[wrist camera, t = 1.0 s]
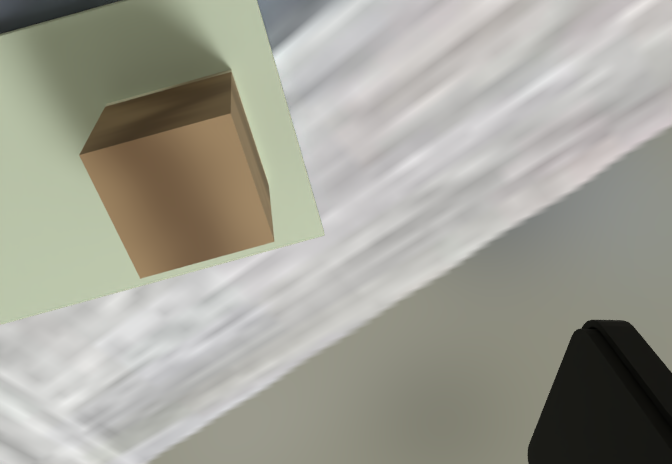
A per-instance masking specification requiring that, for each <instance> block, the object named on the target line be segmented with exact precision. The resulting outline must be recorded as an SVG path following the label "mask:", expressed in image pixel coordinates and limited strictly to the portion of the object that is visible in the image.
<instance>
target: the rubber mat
mask: <svg viewBox="0 0 672 464" xmlns="http://www.w3.org/2000/svg"><path fill="white" fill-rule="evenodd" d="M231 69H232V72H233V75H234V78H235V81H236V84H237V87H238V90H239V93H240V96H241V99H242V103H243V106H244V109H245V112H246V115H247V118H248V121H249V124H250V127H251V130H252V133H253V136H254V139H255V142H256V145H257V148H258V151H259V154H260V157H261V160H262V163H263V166H264V169H265V173H266V176H267V179H268V182H269V192H270V202H271V212H272V222H273V232H274V242H272V243H268V244H265V245H261V246H257V247H254V248H250V249H246V250H243V251H239V252H236V253H232V254H228V255H225V256H221V257H217V258H214V259H210V260H206V261H203V262H199V263H196V264H192V265H188V266H185V267H181V268H177V269H174V270H170V271H167V272H163V273H159V274H156V275H152V276H148V277H145V278H141V279H140V277H139V275H138V273H137V271H136V269H135V267H134V265H133V263H132V261H131V259H130V257H129V255H128V253H127V251H126V249H125V247H124V245H123V243H122V241H121V239H120V237H119V235H118V233H117V231H116V229H115V227H114V225H113V223H112V221H111V219H110V217H109V215H108V213H107V211H106V209H105V207H104V205H103V203H102V201H101V199H100V197H99V194H98V192H97V190H96V188H95V186H94V184H93V182H92V180H91V178H90V176H89V174H88V172H87V170H86V168H85V166H84V164H83V162H82V160H81V158H80V156H79V154H80V152H81V151H82V149H83V147H84V145H85V143H86V141H87V139H88V138H89V136H90V134H91V132H92V130H93V128H94V126H95V124H96V123H97V121H98V119H99V117H100V115H101V113H102V111H103V110H104V108H105V106H106V104H108V103H111V102H115V101H118V100H122V99H126V98H129V97H133V96H137V95H140V94H144V93H147V92H151V91H155V90H158V89H162V88H165V87H169V86H173V85H176V84H180V83H184V82H187V81H191V80H194V79H198V78H202V77H205V76H209V75H212V74H216V73H220V72H223V71H227V70H231ZM324 235H325V234H324V230H323V227H322V223H321V220H320V216H319V213H318V209H317V206H316V202H315V199H314V195H313V192H312V189H311V185H310V182H309V178H308V175H307V171H306V168H305V164H304V161H303V157H302V154H301V151H300V147H299V144H298V140H297V137H296V133H295V130H294V126H293V123H292V120H291V116H290V113H289V109H288V106H287V102H286V99H285V95H284V92H283V88H282V85H281V82H280V78H279V75H278V71H277V68H276V64H275V61H274V57H273V54H272V50H271V47H270V44H269V40H268V37H267V33H266V30H265V26H264V23H263V19H262V16H261V12H260V9H259V6H258V2H257V0H121V1H118V2H114V3H110V4H107V5H103V6H100V7H96V8H92V9H89V10H85V11H82V12H78V13H74V14H71V15H67V16H64V17H60V18H56V19H53V20H49V21H46V22H42V23H38V24H35V25H31V26H27V27H24V28H20V29H17V30H13V31H9V32H6V33H2V34H0V325H1V324H5V323H8V322H12V321H16V320H19V319H23V318H27V317H30V316H34V315H38V314H41V313H45V312H48V311H52V310H56V309H59V308H63V307H67V306H70V305H74V304H77V303H81V302H85V301H88V300H92V299H96V298H99V297H103V296H106V295H110V294H114V293H117V292H121V291H125V290H128V289H132V288H136V287H139V286H143V285H146V284H150V283H154V282H157V281H161V280H165V279H168V278H172V277H175V276H179V275H183V274H186V273H190V272H194V271H197V270H201V269H205V268H208V267H212V266H215V265H219V264H223V263H226V262H230V261H234V260H237V259H241V258H244V257H248V256H252V255H255V254H259V253H263V252H266V251H270V250H274V249H277V248H281V247H284V246H288V245H292V244H295V243H299V242H303V241H306V240H310V239H313V238H317V237H321V236H324Z"/></svg>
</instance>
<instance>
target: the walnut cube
mask: <svg viewBox="0 0 672 464" xmlns="http://www.w3.org/2000/svg"><path fill="white" fill-rule="evenodd" d="M79 156H80V158H81V160H82V162H83V164H84V166H85V168H86V170H87V172H88V174H89V176H90V178H91V180H92V182H93V184H94V186H95V188H96V190H97V192H98V194H99V197H100V199H101V201H102V203H103V205H104V207H105V209H106V211H107V213H108V215H109V217H110V219H111V221H112V223H113V225H114V227H115V229H116V231H117V233H118V235H119V237H120V239H121V241H122V243H123V245H124V247H125V249H126V251H127V253H128V255H129V257H130V259H131V261H132V263H133V265H134V267H135V269H136V271H137V273H138V275H139V277H140V279H141V278H145V277H148V276H152V275H156V274H159V273H163V272H167V271H170V270H174V269H177V268H181V267H185V266H188V265H192V264H196V263H199V262H203V261H206V260H210V259H214V258H217V257H221V256H225V255H228V254H232V253H236V252H239V251H243V250H246V249H250V248H254V247H257V246H261V245H265V244H268V243H272V242H274V232H273V222H272V212H271V202H270V192H269V182H268V179H267V176H266V173H265V169H264V166H263V163H262V160H261V157H260V154H259V151H258V148H257V145H256V142H255V139H254V136H253V133H252V130H251V127H250V124H249V121H248V118H247V115H246V112H245V109H244V106H243V103H242V99H241V96H240V93H239V90H238V87H237V84H236V81H235V78H234V75H233V72H232V69H231V70H227V71H223V72H220V73H216V74H212V75H209V76H205V77H202V78H198V79H194V80H191V81H187V82H184V83H180V84H176V85H173V86H169V87H165V88H162V89H158V90H155V91H151V92H147V93H144V94H140V95H137V96H133V97H129V98H126V99H122V100H118V101H115V102H111V103H108V104H106V106H105V108H104V110H103V111H102V113H101V115H100V117H99V119H98V121H97V123H96V124H95V126H94V128H93V130H92V132H91V134H90V136H89V138H88V139H87V141H86V143H85V145H84V147H83V149H82V151H81V152H80V154H79Z"/></svg>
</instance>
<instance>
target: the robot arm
mask: <svg viewBox="0 0 672 464" xmlns="http://www.w3.org/2000/svg"><path fill="white" fill-rule="evenodd" d="M528 462H529V464H672V373H671V371H670V370H669V369H668V368H667V367H666V365H665V364H664V363H663V362H662V361H661V359H660V358H659V357H658V356H657V354H656V353H655V352H654V351H653V350H652V348H651V347H650V346H649V345H648V344H647V343H646V341H645V340H644V339H643V338H642V336H641V335H640V334H639V333H638V332H637V330H636V329H635V328H634V327H633V326H632V325H631V324H630V323H629V322H626V321H621V320H590V321H587V322H586V323H585V324H584V325H583V327H582V329H578V330H576V331H575V332H574V333H573V335H572V337H571V340H570V343H569V345H568V347H567V350H566V353H565V355H564V358H563V360H562V363H561V365H560V368H559V370H558V373H557V375H556V378H555V380H554V383H553V385H552V388H551V390H550V393H549V395H548V398H547V400H546V403H545V406H544V408H543V411H542V413H541V416H540V418H539V421H538V424H537V426H536V429H535V431H534V433H533V436H532V438H531V441H530V444H529V447H528Z"/></svg>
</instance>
